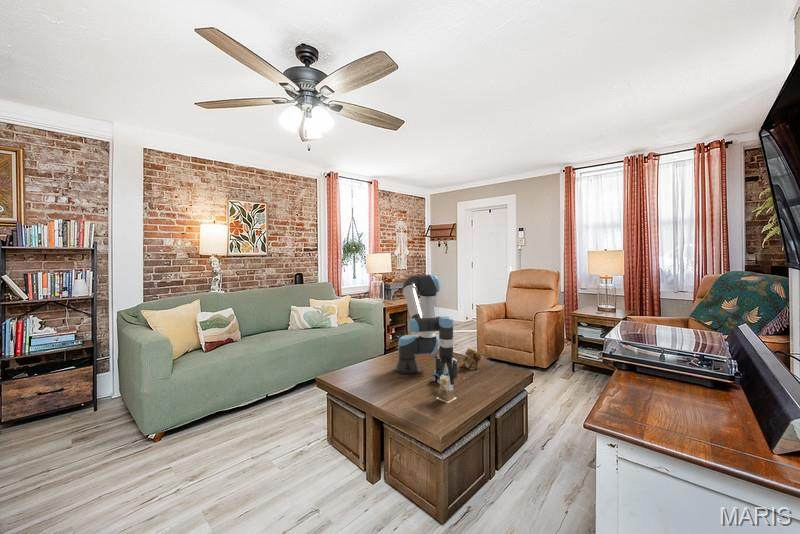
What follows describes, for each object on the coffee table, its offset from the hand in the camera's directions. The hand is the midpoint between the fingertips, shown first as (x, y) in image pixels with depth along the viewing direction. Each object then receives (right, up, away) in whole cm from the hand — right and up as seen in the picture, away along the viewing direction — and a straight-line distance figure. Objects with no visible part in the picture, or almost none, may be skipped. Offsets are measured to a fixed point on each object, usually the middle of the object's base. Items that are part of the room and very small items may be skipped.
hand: (446, 388), depth 178 cm
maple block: (0, 0, 0) cm, 0 cm away
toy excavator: (+2, -5, +23) cm, 23 cm away
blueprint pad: (0, -6, +3) cm, 7 cm away
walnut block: (0, -5, +1) cm, 5 cm away
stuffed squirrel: (+25, -4, +51) cm, 56 cm away
